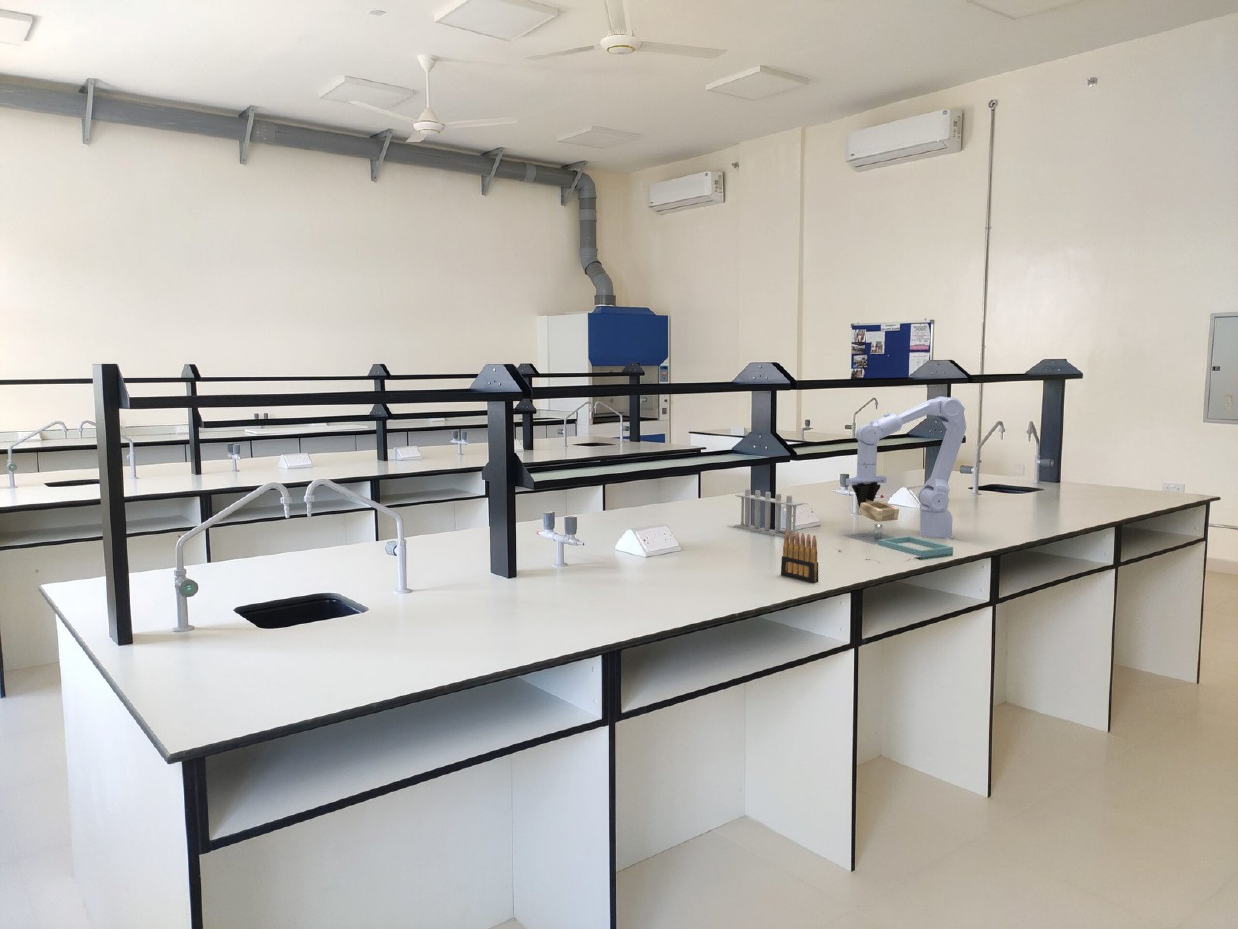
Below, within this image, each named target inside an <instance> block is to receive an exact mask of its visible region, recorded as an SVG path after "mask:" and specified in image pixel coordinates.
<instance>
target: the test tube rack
mask: <svg viewBox="0 0 1238 929" xmlns="http://www.w3.org/2000/svg"><path fill="white" fill-rule="evenodd" d="M761 493H762V492H761V490H757V489H756V490H755V491H754V494H753V495H752V494H751V488H745V491H744V493H740V494H735V497H737V498H740V499H741V507H740V508H741V512H740V513H741V514H740V516H741V518H740V519H741V520H740V523H739V524H736V525H734V528H735V527H737V529H740V530H746V531H749V532H750V531H751V532H755V533H761V534H764V535H768V536H769V535H770V536H772V537H773V536H774V537H778V538H784V536H785V532H782V531H781V527H782V526H781V525H782V505H784V506H785V507H786V508H785V509H786V510H785V531H786V530H788V534H789V540H790V534H791V531H793V533H794V540H795V536H796V533H797V532H796V518H797V517H796V515H797V512H796V511H797V506H801V505H804V504H803V503H802V502H797V501H796V502H795V501H793V495H789V494H788V495H786V500H785V499H782V493H776V494H775V498H772V497H771V496H772V494H771V491H765V493H764V494H765V496H761ZM751 500H754V525H752V524H751ZM761 502H764V527H762V528H760V527H761ZM771 503H772V504H773V503H774V504H775V511H774V512H775V513H774V514H775V515H774V516H775V517H774V518H775V519H774V529H771V509H772V508H771V507H772V506H771Z"/></svg>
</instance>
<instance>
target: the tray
mask: <svg viewBox="0 0 1238 929" xmlns="http://www.w3.org/2000/svg"><path fill="white" fill-rule="evenodd" d="M905 543H911V544H914V545H918V546H921V547H926V548H927V549H917V548H914V547H910V546H908V545H907V546H906V545H903V544H905ZM877 546H881V547H884V548H887V549H891V550H895V551H899V552H903V553H907V554H910V555H914V556H915V557H914V559H916V560H919V561H924V560H932V559H939V558H945V557H953V555H954V547H953V546H950V545H946V544H942V543H938V542H935V541H931V540H926V539H921V538H918V537H914V536H909V535H907V536H899V537H896V538H889V539H881V540H878V544H877ZM916 556H917V557H916Z"/></svg>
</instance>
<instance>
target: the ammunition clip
mask: <svg viewBox="0 0 1238 929" xmlns="http://www.w3.org/2000/svg"><path fill="white" fill-rule="evenodd" d="M784 533H785V536H784V540H783V544H782V545H783V546H782V555H781V567H780V576H783V577H787V578H791V579H795V580H799V581H802V582H808V583H811V584H816V583H817V584H818V583H819V562H818V545H817V542H818V541H817V536H816V535H815V534H814V535H813V536H812V540H811V535H810V534H809V533H808V534H807V536H806V537H805V533H804V532H802V533H801V535H800V534H799V531H796V532H795V533H796V535H794V533H793V530H791V534H790V539H789V534H788V530H786V529H785V532H784ZM794 536H795V539H794Z"/></svg>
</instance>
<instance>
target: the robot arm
mask: <svg viewBox="0 0 1238 929" xmlns="http://www.w3.org/2000/svg"><path fill="white" fill-rule="evenodd" d="M965 409H966V408H965V406H964V405H963V404H962V402H961V401H960V400H959V399H958V398H956V397H952V396H951V397H946V396H944V395H943V396H942V395H941V396H937V397H934V398H931V399H927V400H926V401H924V402H922V403H920V404H918V405H915V406H913V407H911V408H910V409H908V410H905V411H904V412H902V413H900V414H898V415H897V414H895V413H885V414H884V415H883V417H881V418H879V419H876V420H871V421H869V424H861V425H860V426H859V427H858V428H857V430H856V432H855V434H854V435H855V438H856V440H857V442H858V443H857V454H856V455H857V458H856V460H857V461H856V462H857V463H856V465H857V466H856V476H854V477H850V478H845V486H850V487H851V488H852V489H853V491H854V495H855V496H856V499H857V503H858V505H859V507H860V505H861V503H864V502H866V499H869V500H871V501H873V502H875V498H876V496H877V493H878V492H879V491H880V489H881V484H886V483H887V476H884V475H877V459H878V458H877V457H878V456H877V455H878V449H877V448H878V442H879V441H880V439H884V438H886V437H888V436H890V435H892V434H895V433H897V432H899V431H901V429H902V427H903V425H905V424H907V423H910V422H913V421H915V420H918V419H920V418H924V417H926V416H935V417H937V418H938V419H939V420H940V422H942V424H943V426H944V427H945V429H946V431H945V434H944V437H943V439H942V442H941V446H940V449H939V452H938V455H937V457H936V460H935V463H934V466H933V470H932V472H931V475H930V477H929V478H928V479H927V480H926V481H925V483H924V486H923V488H921V489H920V491H919V492H918V494H917V499H918V502H919V503H920V510H919V511H920V513H919V515H920V516H919V536H921V537H923V538H924V537H925V538H931V539H932V538H933V539H936V538H945V539H949V540H951V539H952V540H953V539H954V537H955V536H953V520H954V519H953V515H952V513H951V511H950V510H948V509H947V507H948V506H949V501H950V498H949V493H950V485H949V480H950V478H951V475H952V472H953V469H954V465H955V462H956V460H957V457H958V454H959V452H960V448H961V445H962V442H963V439H964V437H965V433H966V431H967V422H966V418H965Z"/></svg>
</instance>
